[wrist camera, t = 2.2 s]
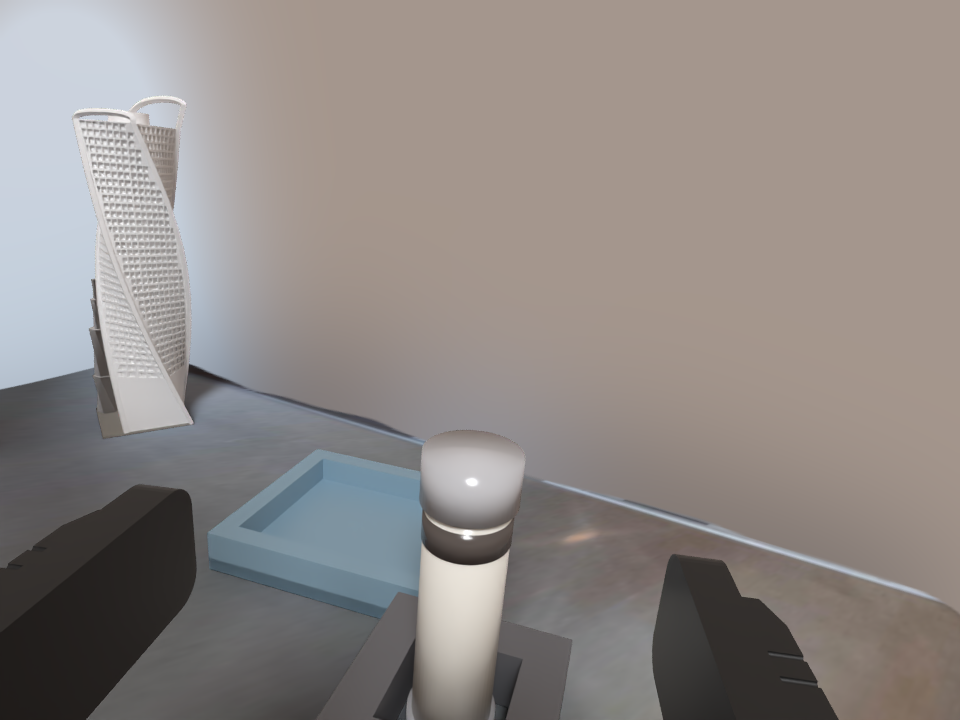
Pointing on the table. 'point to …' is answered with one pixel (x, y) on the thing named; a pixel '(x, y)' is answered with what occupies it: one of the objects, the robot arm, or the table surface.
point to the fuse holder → (390, 665)
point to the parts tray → (329, 533)
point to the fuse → (463, 571)
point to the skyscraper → (137, 270)
